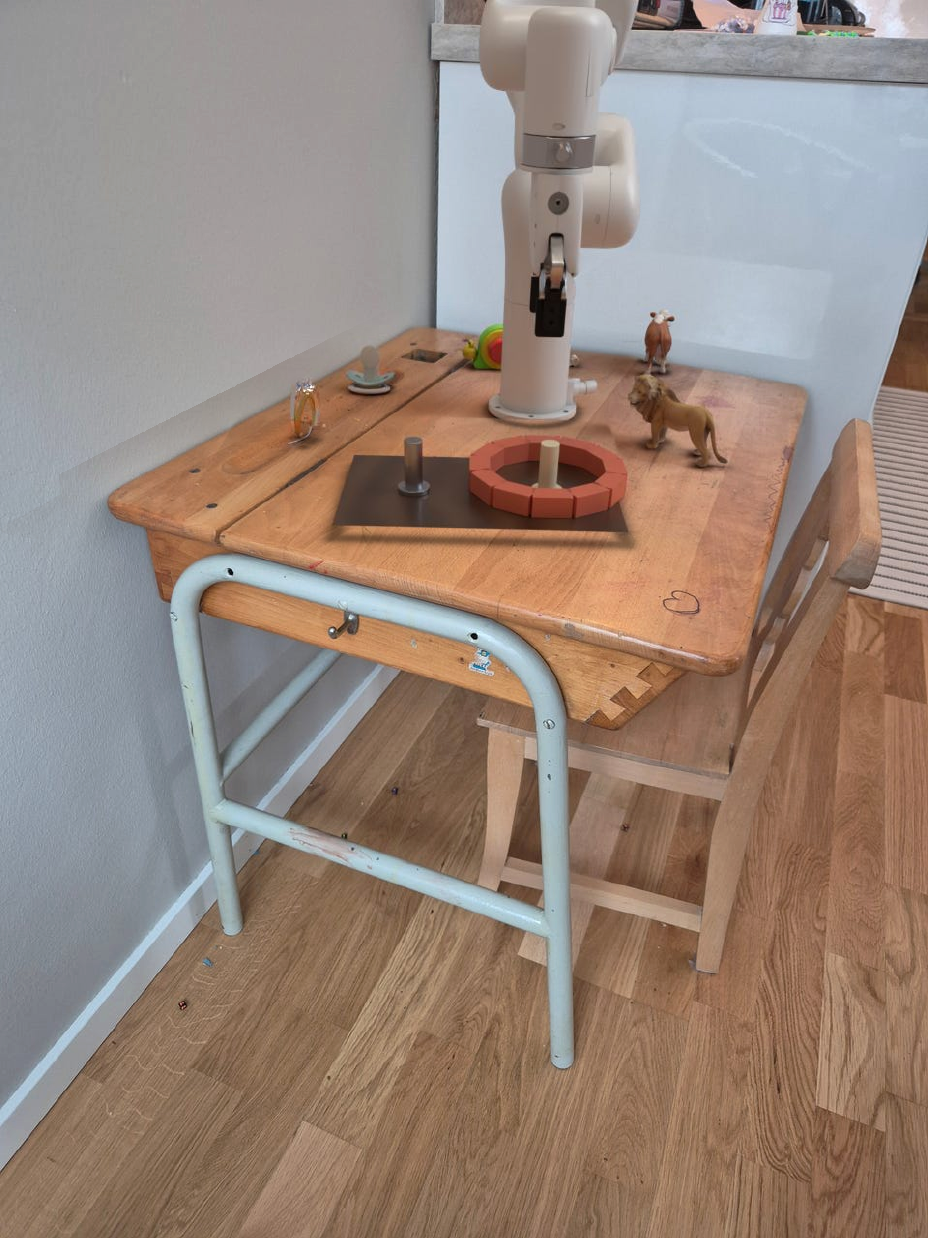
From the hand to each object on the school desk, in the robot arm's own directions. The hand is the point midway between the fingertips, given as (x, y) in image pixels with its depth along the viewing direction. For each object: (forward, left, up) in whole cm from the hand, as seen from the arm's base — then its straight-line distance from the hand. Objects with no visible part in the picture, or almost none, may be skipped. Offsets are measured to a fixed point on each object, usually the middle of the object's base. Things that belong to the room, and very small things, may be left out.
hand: (545, 323), depth 98 cm
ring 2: (+3, +8, -16) cm, 18 cm away
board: (+11, +7, -17) cm, 22 cm away
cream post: (+4, +11, -16) cm, 19 cm away
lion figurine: (-19, +2, -18) cm, 26 cm away
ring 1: (+24, -18, -18) cm, 35 cm away
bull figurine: (-38, -30, -18) cm, 51 cm away
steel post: (+18, +4, -16) cm, 24 cm away
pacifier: (+10, -35, -18) cm, 40 cm away
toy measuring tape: (-17, -38, -18) cm, 45 cm away
